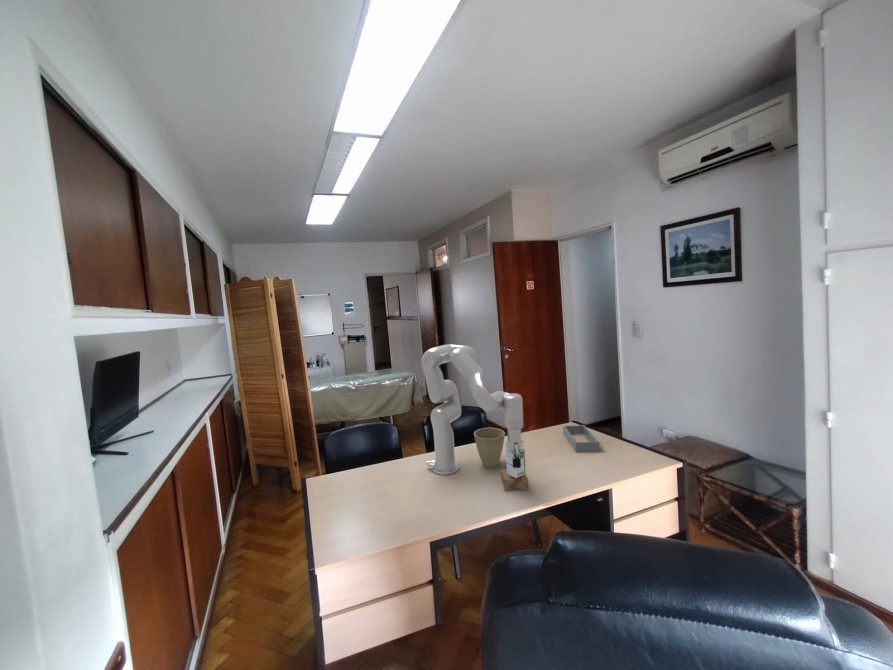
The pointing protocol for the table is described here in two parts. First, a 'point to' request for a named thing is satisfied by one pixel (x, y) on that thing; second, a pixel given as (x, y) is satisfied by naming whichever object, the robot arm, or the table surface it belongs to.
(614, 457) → the table surface
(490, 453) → the plant pot
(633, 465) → the table surface
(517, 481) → the walnut block
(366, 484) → the table surface
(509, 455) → the syrup box
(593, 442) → the frame
